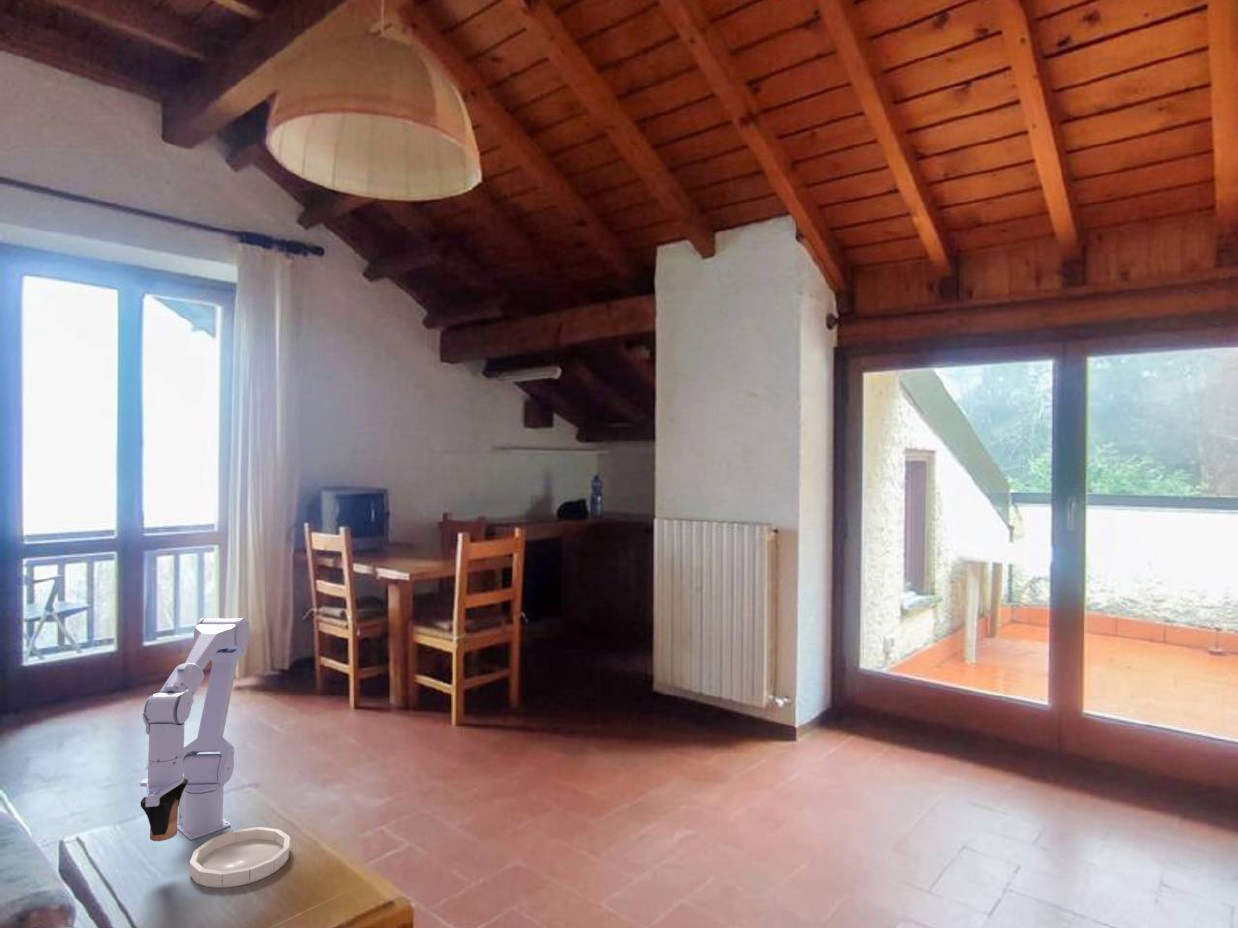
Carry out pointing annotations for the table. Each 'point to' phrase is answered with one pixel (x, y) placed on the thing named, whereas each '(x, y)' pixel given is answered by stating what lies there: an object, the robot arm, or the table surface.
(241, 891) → the table surface
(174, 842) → the table surface
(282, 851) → the round tray
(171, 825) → the brown rounded cylinder
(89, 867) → the table surface
